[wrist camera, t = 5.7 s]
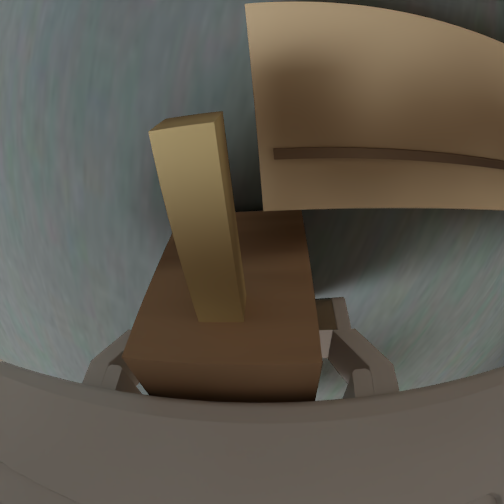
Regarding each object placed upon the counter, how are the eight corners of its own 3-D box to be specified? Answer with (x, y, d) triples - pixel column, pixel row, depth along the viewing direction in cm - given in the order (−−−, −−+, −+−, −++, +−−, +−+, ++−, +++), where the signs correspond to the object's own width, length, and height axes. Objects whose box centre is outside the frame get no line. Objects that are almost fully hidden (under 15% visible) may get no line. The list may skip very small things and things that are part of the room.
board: (252, 19, 8) (244, 3, 5) (560, 83, 7) (606, 105, 4) (265, 168, 12) (263, 212, 9) (544, 182, 10) (582, 216, 8)
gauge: (156, 98, 10) (29, 177, 4) (297, 84, 9) (345, 137, 4) (205, 312, 16) (182, 434, 11) (299, 310, 16) (306, 438, 10)
